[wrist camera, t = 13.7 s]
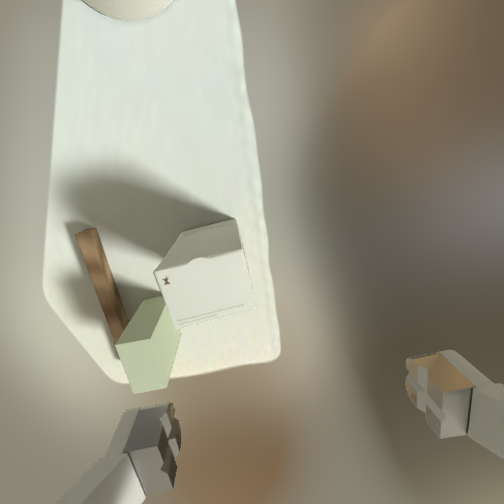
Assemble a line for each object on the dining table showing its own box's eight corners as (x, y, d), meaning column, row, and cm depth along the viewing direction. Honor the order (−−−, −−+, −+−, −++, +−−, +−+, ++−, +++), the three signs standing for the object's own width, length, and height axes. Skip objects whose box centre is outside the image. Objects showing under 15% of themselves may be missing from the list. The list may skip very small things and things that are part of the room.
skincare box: (192, 271, 41) (170, 334, 26) (178, 228, 39) (147, 270, 24) (248, 258, 41) (258, 313, 26) (237, 214, 39) (242, 248, 24)
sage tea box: (143, 299, 42) (114, 345, 32) (170, 294, 42) (150, 338, 32) (155, 338, 44) (132, 393, 34) (181, 333, 44) (166, 387, 34)
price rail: (83, 230, 38) (73, 234, 36) (96, 228, 38) (87, 232, 36) (130, 362, 45) (125, 373, 43) (141, 360, 45) (136, 371, 43)
